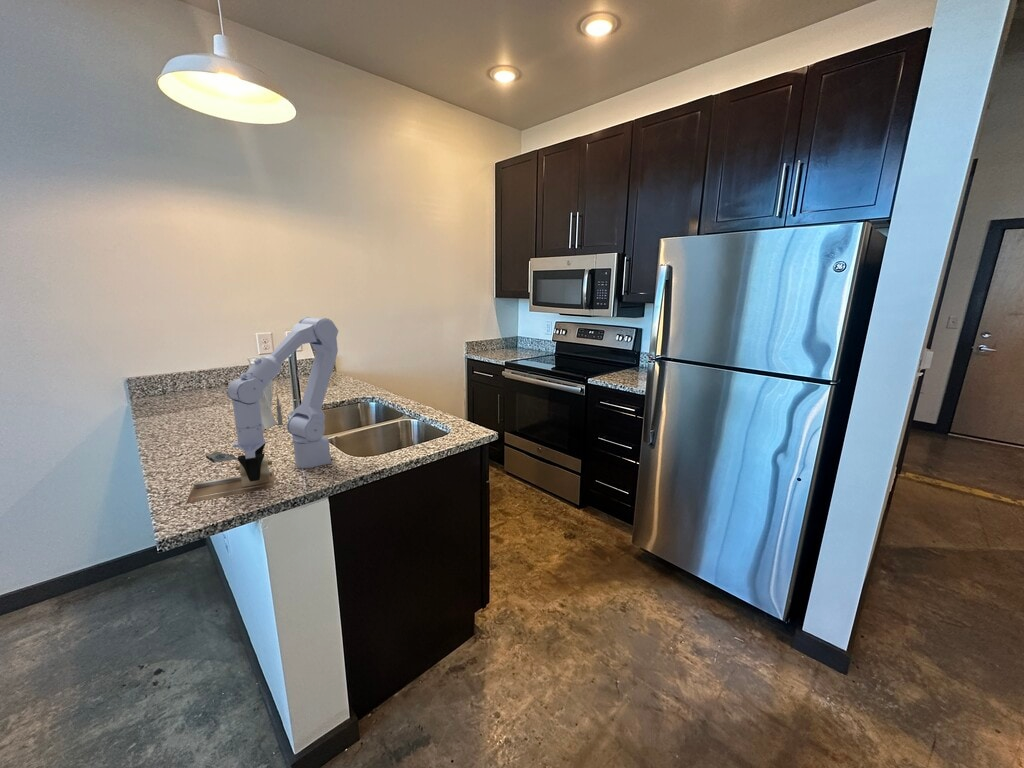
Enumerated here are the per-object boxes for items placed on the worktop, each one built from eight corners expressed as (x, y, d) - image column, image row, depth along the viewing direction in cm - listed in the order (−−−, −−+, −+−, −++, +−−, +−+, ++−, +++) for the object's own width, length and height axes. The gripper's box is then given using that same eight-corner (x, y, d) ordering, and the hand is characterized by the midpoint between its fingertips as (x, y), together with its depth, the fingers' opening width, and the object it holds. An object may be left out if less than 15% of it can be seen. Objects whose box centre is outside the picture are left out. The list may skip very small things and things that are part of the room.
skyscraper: (267, 432, 151) (258, 357, 145) (249, 430, 153) (239, 356, 147) (284, 425, 159) (276, 354, 153) (266, 424, 161) (258, 353, 155)
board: (274, 475, 115) (273, 466, 115) (274, 492, 105) (273, 483, 105) (195, 488, 107) (194, 479, 106) (186, 509, 97) (184, 499, 96)
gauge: (273, 475, 112) (271, 454, 110) (273, 481, 108) (271, 460, 107) (239, 481, 108) (236, 460, 107) (237, 487, 104) (234, 465, 103)
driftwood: (204, 457, 128) (203, 451, 128) (229, 451, 133) (228, 445, 133) (223, 478, 115) (222, 471, 115) (250, 470, 120) (250, 464, 119)
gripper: (233, 419, 109) (239, 467, 112) (227, 436, 97) (234, 489, 100) (264, 416, 112) (269, 462, 115) (262, 431, 100) (268, 483, 103)
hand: (255, 474), depth 108 cm, fingers open, 7 cm apart
